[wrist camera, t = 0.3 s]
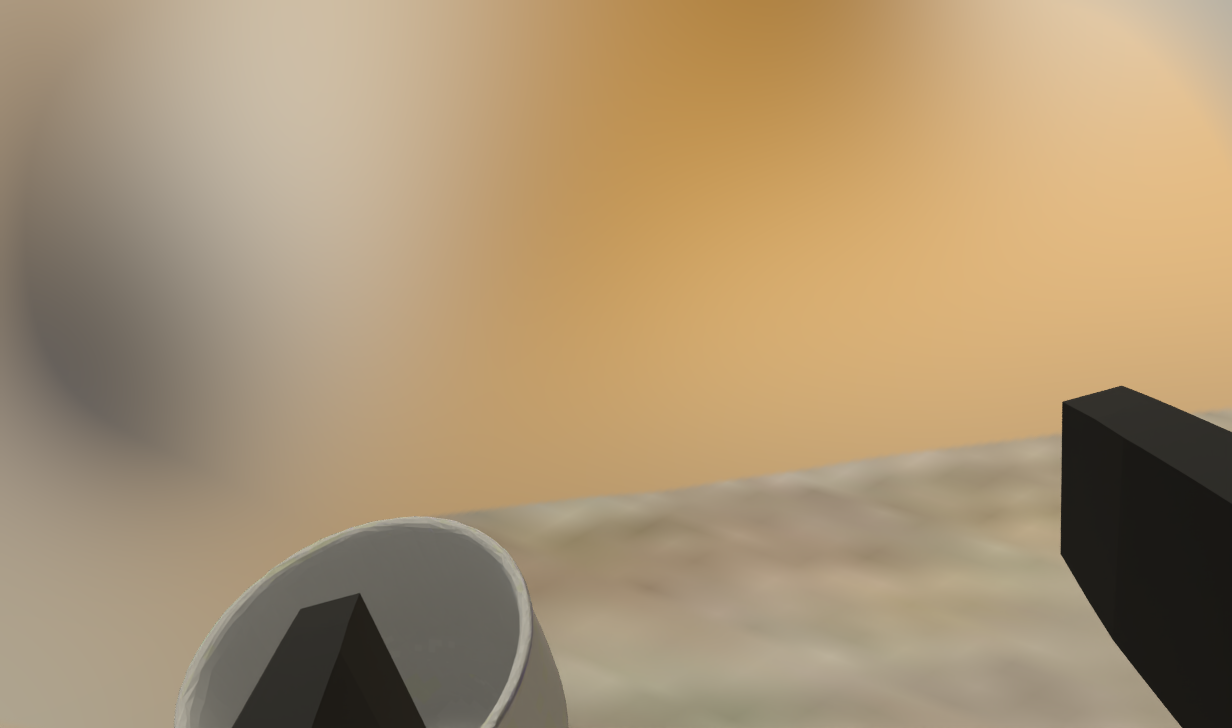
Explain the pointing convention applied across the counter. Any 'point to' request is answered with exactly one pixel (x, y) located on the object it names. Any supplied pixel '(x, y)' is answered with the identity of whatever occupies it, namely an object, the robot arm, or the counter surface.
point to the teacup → (397, 626)
